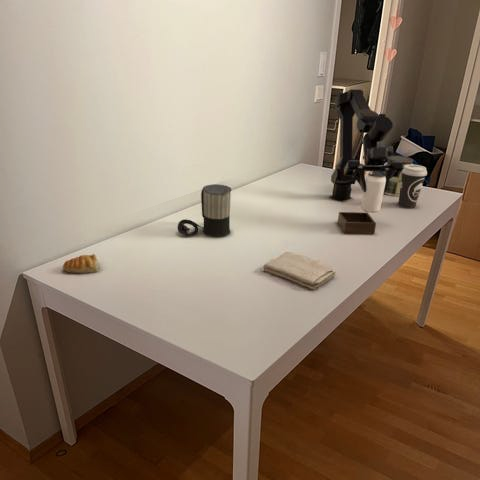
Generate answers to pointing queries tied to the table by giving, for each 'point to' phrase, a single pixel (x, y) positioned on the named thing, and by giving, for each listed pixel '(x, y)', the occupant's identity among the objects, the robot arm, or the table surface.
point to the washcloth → (300, 269)
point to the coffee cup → (411, 185)
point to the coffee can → (395, 182)
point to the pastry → (82, 264)
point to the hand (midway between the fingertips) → (374, 191)
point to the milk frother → (212, 212)
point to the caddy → (356, 223)
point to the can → (373, 192)
